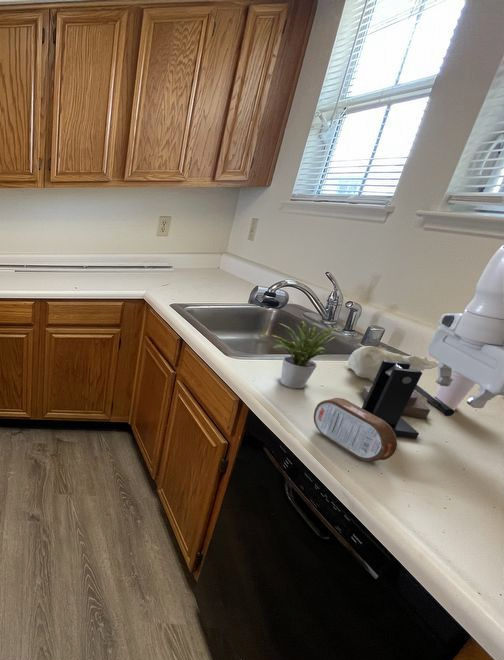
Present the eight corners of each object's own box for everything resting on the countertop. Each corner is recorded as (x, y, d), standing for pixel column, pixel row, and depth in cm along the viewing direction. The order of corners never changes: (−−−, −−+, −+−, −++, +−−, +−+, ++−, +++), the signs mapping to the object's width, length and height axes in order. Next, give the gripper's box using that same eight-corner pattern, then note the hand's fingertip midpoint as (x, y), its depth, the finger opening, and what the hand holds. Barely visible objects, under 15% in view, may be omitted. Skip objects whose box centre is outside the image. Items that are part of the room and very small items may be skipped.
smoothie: (469, 415, 93) (503, 358, 87) (433, 410, 95) (464, 354, 89) (453, 402, 99) (483, 347, 92) (419, 397, 100) (447, 343, 94)
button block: (412, 402, 98) (420, 387, 97) (426, 418, 92) (434, 402, 90) (360, 393, 102) (366, 379, 100) (369, 408, 96) (376, 393, 94)
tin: (387, 469, 76) (407, 430, 72) (373, 471, 75) (392, 432, 71) (317, 425, 89) (331, 390, 85) (305, 426, 88) (318, 391, 85)
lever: (429, 405, 88) (440, 398, 86) (446, 419, 83) (458, 411, 82) (380, 368, 87) (391, 360, 86) (394, 380, 82) (406, 371, 81)
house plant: (292, 368, 115) (311, 311, 108) (341, 390, 103) (366, 328, 96) (250, 373, 112) (267, 315, 105) (295, 398, 100) (318, 334, 93)
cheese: (326, 376, 115) (373, 362, 101) (332, 353, 117) (380, 336, 102) (381, 398, 114) (437, 387, 99) (387, 374, 115) (442, 360, 101)
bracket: (395, 418, 92) (423, 361, 86) (416, 438, 85) (448, 378, 79) (337, 411, 94) (360, 355, 88) (353, 430, 87) (380, 370, 81)
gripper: (564, 351, 67) (519, 424, 73) (473, 314, 85) (443, 375, 91) (514, 347, 69) (474, 419, 75) (436, 312, 87) (409, 372, 92)
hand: (457, 395), depth 83 cm, fingers open, 8 cm apart
